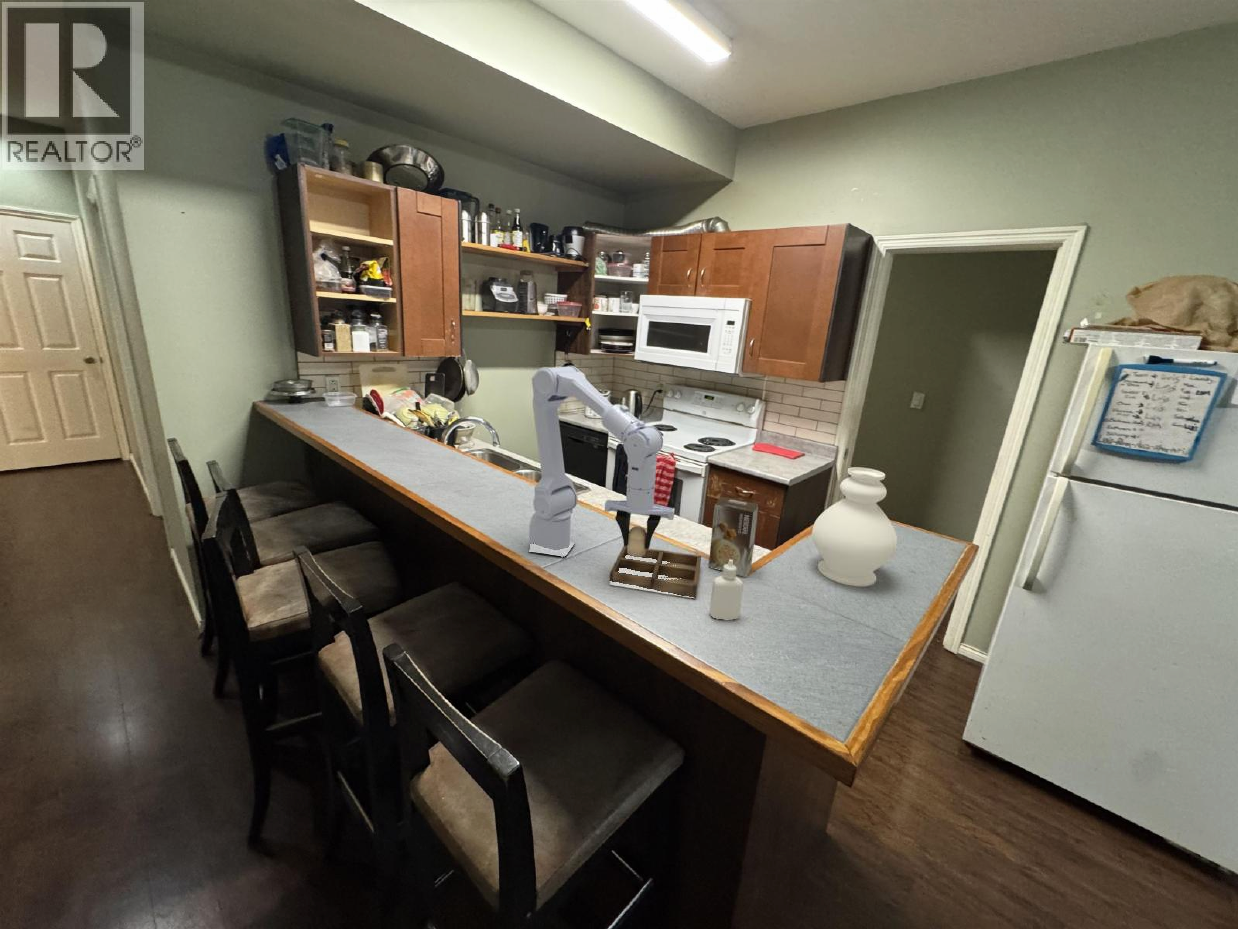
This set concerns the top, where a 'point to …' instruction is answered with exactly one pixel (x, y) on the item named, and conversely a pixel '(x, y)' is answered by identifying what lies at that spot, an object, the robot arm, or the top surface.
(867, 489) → the decorative vase
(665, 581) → the crate
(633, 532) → the cylinder
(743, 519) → the coffee box
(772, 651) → the top surface
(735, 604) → the eye dropper bottle
